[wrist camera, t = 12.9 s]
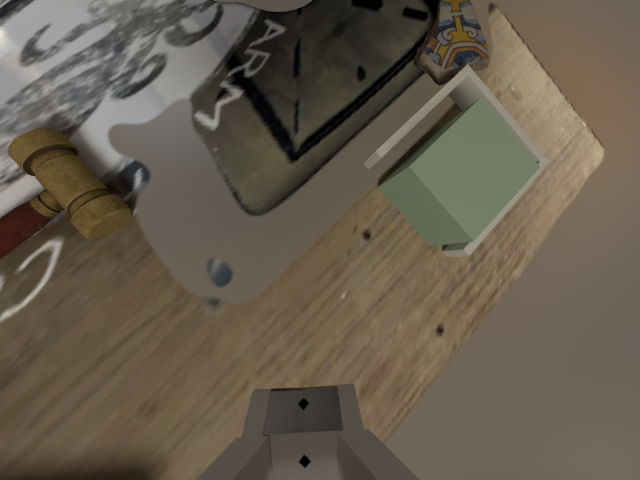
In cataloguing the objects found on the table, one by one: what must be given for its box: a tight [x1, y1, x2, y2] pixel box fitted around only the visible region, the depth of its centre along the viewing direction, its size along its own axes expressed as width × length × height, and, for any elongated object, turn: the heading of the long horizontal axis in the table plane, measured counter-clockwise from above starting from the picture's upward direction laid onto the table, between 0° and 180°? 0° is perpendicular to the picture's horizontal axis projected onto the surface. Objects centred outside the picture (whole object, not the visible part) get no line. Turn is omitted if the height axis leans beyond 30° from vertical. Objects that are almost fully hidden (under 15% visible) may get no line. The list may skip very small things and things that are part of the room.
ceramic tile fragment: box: [414, 0, 489, 85], centre depth 39 cm, size 12×3×10 cm
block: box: [378, 97, 540, 246], centre depth 35 cm, size 10×12×8 cm
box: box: [363, 64, 549, 257], centre depth 37 cm, size 16×17×4 cm
